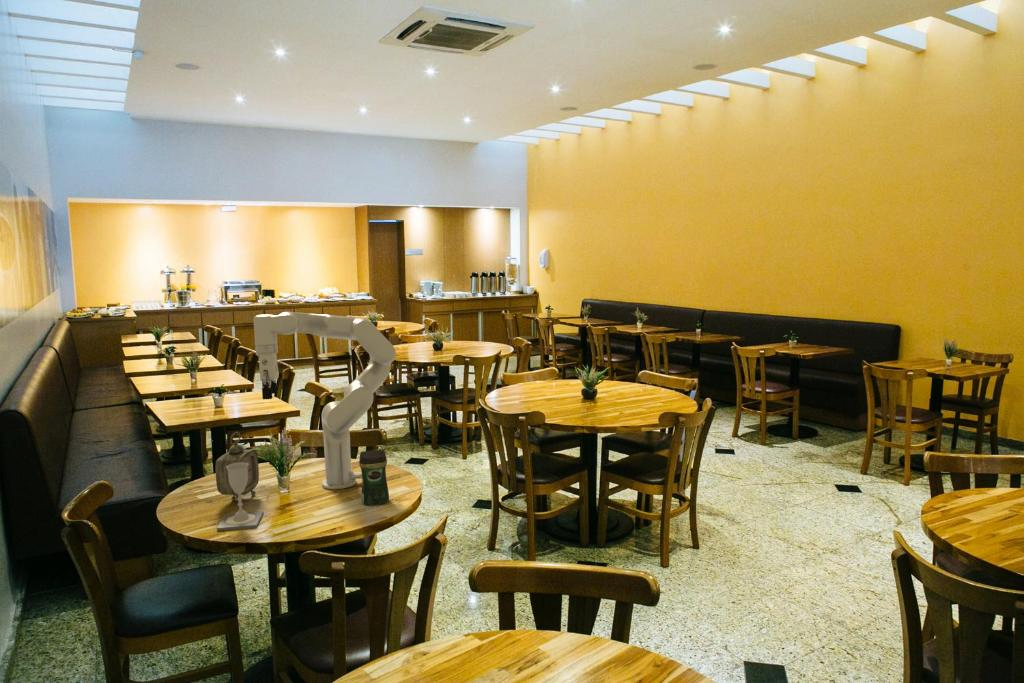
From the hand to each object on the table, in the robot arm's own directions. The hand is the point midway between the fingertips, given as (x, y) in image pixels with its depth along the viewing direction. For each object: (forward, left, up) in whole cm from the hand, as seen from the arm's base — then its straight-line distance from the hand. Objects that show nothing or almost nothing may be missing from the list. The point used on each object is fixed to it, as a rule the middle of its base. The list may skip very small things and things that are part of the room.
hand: (270, 396), depth 245 cm
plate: (+7, +26, -36) cm, 45 cm away
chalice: (+7, +26, -35) cm, 44 cm away
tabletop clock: (+12, +5, -36) cm, 39 cm away
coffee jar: (-36, +17, -36) cm, 54 cm away
